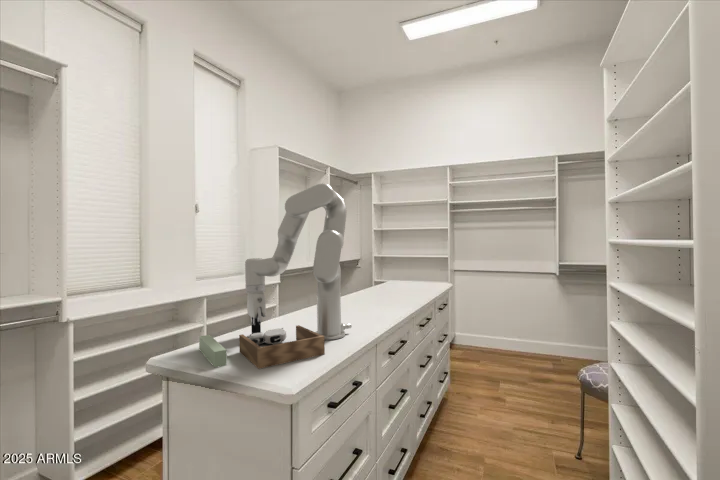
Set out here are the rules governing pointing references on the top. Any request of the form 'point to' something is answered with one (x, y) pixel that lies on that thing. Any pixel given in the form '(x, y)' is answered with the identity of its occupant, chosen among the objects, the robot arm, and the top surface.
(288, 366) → the top surface
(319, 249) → the robot arm
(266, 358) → the wooden tray
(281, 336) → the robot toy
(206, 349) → the sage green plank
